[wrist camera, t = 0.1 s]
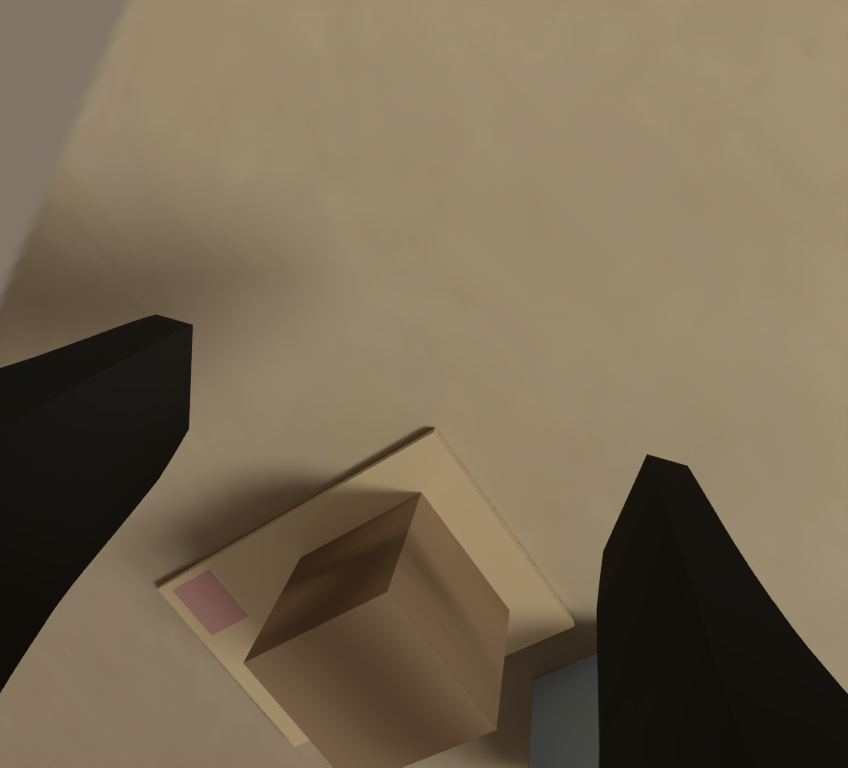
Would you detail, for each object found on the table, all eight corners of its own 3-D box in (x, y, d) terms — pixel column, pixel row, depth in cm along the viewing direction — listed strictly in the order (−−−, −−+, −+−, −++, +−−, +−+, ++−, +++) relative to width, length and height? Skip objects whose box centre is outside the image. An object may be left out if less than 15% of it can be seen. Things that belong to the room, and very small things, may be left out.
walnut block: (387, 665, 27) (350, 787, 23) (300, 557, 26) (243, 663, 21) (509, 610, 25) (496, 730, 21) (421, 492, 24) (387, 591, 20)
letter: (297, 740, 30) (294, 747, 29) (161, 584, 28) (157, 589, 28) (574, 620, 25) (574, 626, 25) (434, 427, 24) (433, 432, 23)
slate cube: (609, 777, 28) (616, 917, 23) (533, 677, 27) (526, 803, 22) (742, 731, 26) (779, 873, 22) (667, 622, 25) (688, 747, 20)
